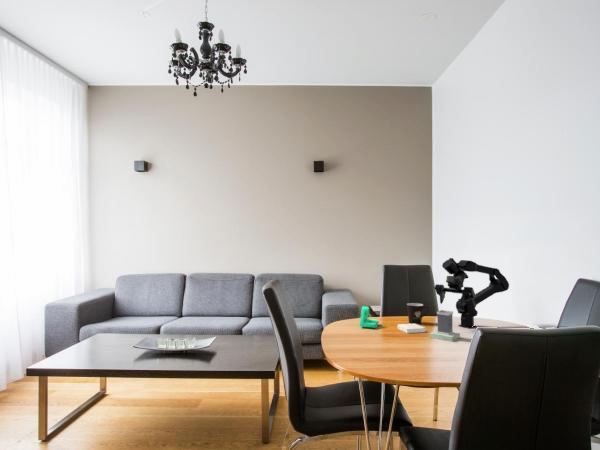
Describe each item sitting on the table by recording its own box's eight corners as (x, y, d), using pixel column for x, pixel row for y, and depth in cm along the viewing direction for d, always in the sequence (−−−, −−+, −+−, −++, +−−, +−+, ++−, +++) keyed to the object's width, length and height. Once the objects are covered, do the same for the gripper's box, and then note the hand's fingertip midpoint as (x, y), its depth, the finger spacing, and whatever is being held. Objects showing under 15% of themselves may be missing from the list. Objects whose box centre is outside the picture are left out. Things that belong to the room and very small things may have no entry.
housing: (441, 331, 187) (441, 310, 188) (453, 333, 184) (453, 311, 184) (436, 333, 183) (436, 311, 183) (448, 335, 180) (448, 313, 180)
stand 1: (415, 327, 203) (415, 323, 203) (425, 332, 193) (425, 327, 194) (397, 328, 201) (397, 324, 201) (407, 333, 191) (407, 329, 191)
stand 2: (439, 333, 190) (439, 329, 191) (459, 337, 184) (459, 332, 184) (430, 337, 183) (430, 333, 183) (451, 341, 176) (451, 337, 176)
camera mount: (374, 329, 199) (374, 309, 199) (359, 328, 202) (359, 308, 202) (379, 324, 210) (378, 305, 210) (364, 323, 213) (364, 304, 213)
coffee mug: (406, 324, 210) (406, 305, 210) (407, 320, 219) (407, 302, 219) (429, 325, 207) (429, 306, 207) (429, 322, 215) (428, 303, 215)
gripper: (435, 268, 204) (426, 292, 196) (472, 271, 192) (465, 296, 183) (441, 282, 210) (433, 305, 202) (478, 285, 198) (471, 310, 189)
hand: (450, 304), depth 194 cm, fingers open, 9 cm apart
